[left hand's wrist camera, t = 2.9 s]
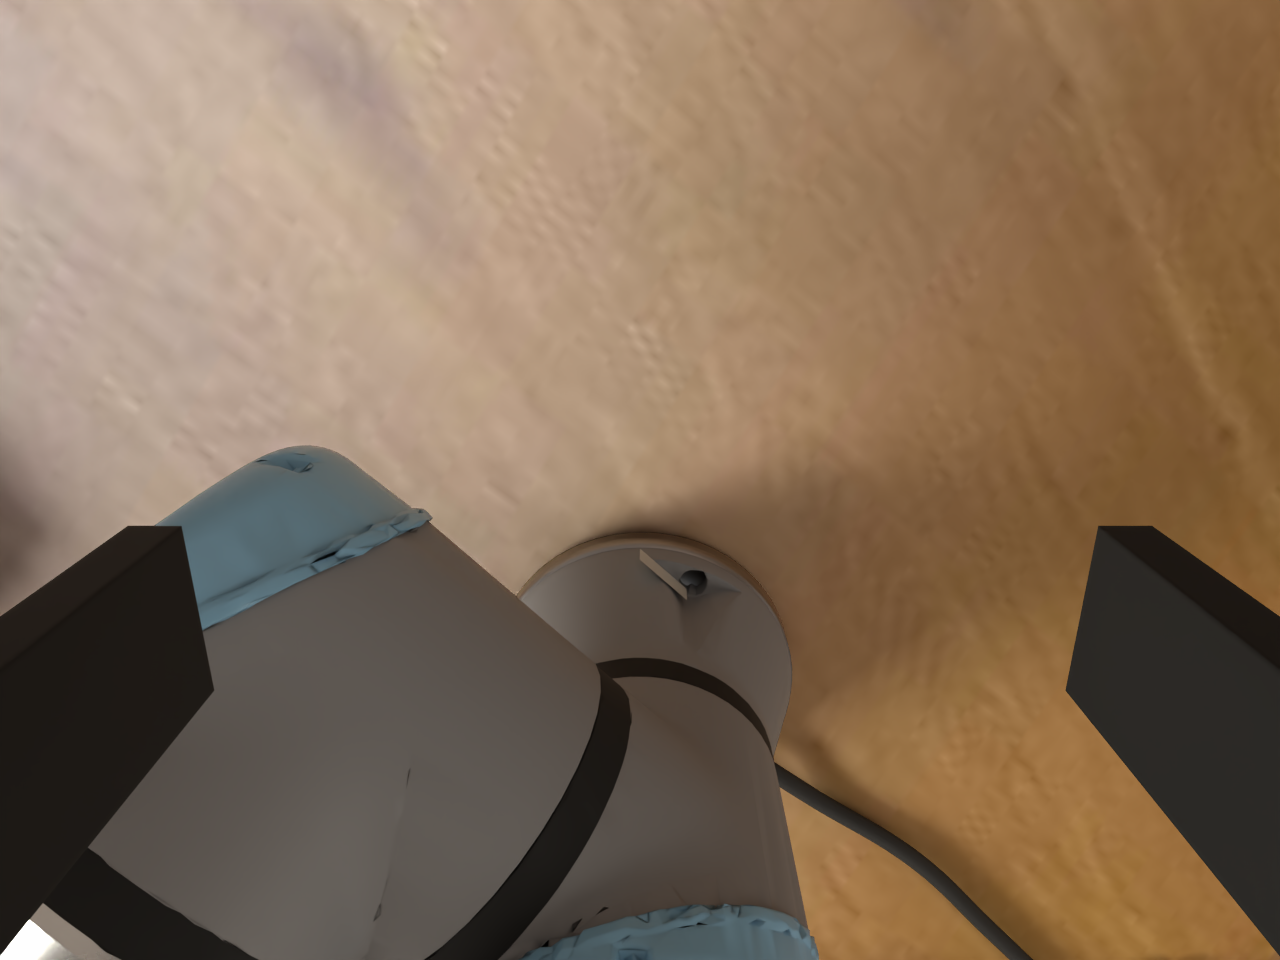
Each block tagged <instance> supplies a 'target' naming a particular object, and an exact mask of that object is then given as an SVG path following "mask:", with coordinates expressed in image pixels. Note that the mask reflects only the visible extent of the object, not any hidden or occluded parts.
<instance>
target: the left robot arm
mask: <svg viewBox="0 0 1280 960" xmlns="http://www.w3.org/2000/svg"><path fill="white" fill-rule="evenodd" d="M431 519H432V517H431V516H430V515H429V513H428V512H427V511H425V510H424V509H415V508H411V507H410V506H409V505H407V504H406V503H405V502H403V501H402V500H401V499H399V498H398V497H397V496H395V495H394V494H393V493H392V492H390V491H389V490H388V489H386V488H385V487H384V486H382V485H381V484H380V483H379V482H377V481H376V480H375V479H373V478H372V477H371V476H369V475H368V474H367V473H366V472H364V471H363V470H362V469H360V468H359V467H358V466H357V465H355V464H354V463H353V462H351V461H350V460H349V459H347V458H346V457H344V456H342V455H341V454H339V453H337V452H334V451H332V450H330V449H326V448H322V447H317V446H294V447H288V448H284V449H280V450H277V451H275V452H272V453H269V454H267V455H265V456H262V457H260V458H258V459H256V460H255V461H253V462H251V463H249V464H247V465H245V466H244V467H242V468H240V469H239V470H237V471H235V472H234V473H232V474H230V475H229V476H227V477H226V478H224V479H222V480H221V481H219V482H218V483H216V484H214V485H213V486H211V487H210V488H208V489H207V490H205V491H204V492H202V493H201V494H199V495H198V496H196V497H195V498H193V499H192V500H190V501H189V502H188V503H186V504H185V505H183V506H182V507H180V508H179V509H178V510H176V511H175V512H173V513H172V514H170V515H169V516H168V517H166V518H165V519H163V520H162V521H160V522H159V523H158V524H156V525H155V526H127V527H126V528H124V529H123V530H122V531H120V532H119V533H117V534H116V535H115V536H113V537H112V538H110V539H109V540H108V541H106V542H105V543H103V544H102V545H101V546H99V547H98V548H96V549H95V550H93V551H92V552H91V553H89V554H88V555H86V556H85V557H84V558H82V559H81V560H79V561H78V562H77V563H75V564H74V565H72V566H71V567H70V568H68V569H67V570H65V571H64V572H62V573H61V574H60V575H58V576H57V577H55V578H54V579H53V580H51V581H50V582H48V583H47V584H46V585H44V586H43V587H41V588H40V589H39V590H37V591H36V592H34V593H33V594H31V595H30V596H29V597H27V598H26V599H24V600H23V601H22V602H20V603H19V604H17V605H16V606H15V607H13V608H12V609H10V610H9V611H8V612H6V613H5V614H3V615H2V616H0V960H819V955H818V951H817V947H816V944H815V941H814V937H813V936H810V930H808V926H807V921H806V916H805V911H804V906H803V901H802V897H801V892H800V887H799V882H798V877H797V872H796V867H795V862H794V857H793V852H792V847H791V842H790V837H789V832H788V827H787V822H786V817H785V813H784V808H783V803H782V798H781V793H780V788H779V787H781V788H782V789H784V790H785V791H787V792H789V793H790V794H792V795H793V796H795V797H797V798H798V799H800V800H801V801H803V802H805V803H806V804H808V805H809V806H811V807H813V808H814V809H816V810H818V811H819V812H821V813H823V814H825V815H826V816H828V817H830V818H831V819H833V820H835V821H837V822H839V823H840V824H842V825H844V826H846V827H847V828H849V829H851V830H853V831H855V832H856V833H858V834H860V835H862V836H863V837H865V838H867V839H869V840H870V841H872V842H874V843H875V844H877V845H879V846H880V847H882V848H884V849H885V850H887V851H888V852H890V853H891V854H893V855H894V856H896V857H897V858H899V859H900V860H902V861H903V862H904V863H906V864H907V865H908V866H910V867H911V868H912V869H914V870H915V871H916V872H917V873H919V874H920V875H921V876H922V877H924V878H925V879H926V880H927V881H928V882H930V883H931V884H932V885H933V886H934V887H935V888H936V889H937V890H938V891H940V892H941V893H942V894H943V895H944V896H945V897H946V898H947V899H948V900H949V901H950V902H951V903H952V904H953V905H954V906H955V907H956V908H957V909H958V910H959V911H960V912H961V913H962V914H963V915H964V916H965V917H966V918H967V919H968V920H969V921H970V922H971V923H972V924H973V925H974V926H975V927H976V928H977V929H978V930H979V931H980V932H981V933H982V934H983V935H984V936H985V937H986V938H987V939H988V940H989V941H990V942H991V943H993V944H994V945H995V946H996V947H997V948H998V949H999V950H1000V951H1001V952H1002V953H1003V954H1004V955H1005V956H1006V957H1007V958H1008V959H1009V960H1033V959H1032V958H1031V957H1030V956H1029V955H1027V954H1026V953H1025V952H1024V951H1023V950H1022V949H1021V948H1020V947H1019V946H1018V945H1017V944H1016V943H1015V942H1014V941H1013V940H1012V939H1011V938H1010V937H1009V936H1008V935H1007V934H1006V933H1004V932H1003V931H1002V930H1001V929H1000V928H999V927H998V926H997V925H996V924H995V923H994V922H993V921H992V920H991V919H990V918H989V917H988V916H987V915H986V914H985V913H984V912H983V911H982V910H981V909H980V908H979V907H978V906H977V905H976V904H975V903H974V902H973V901H972V900H971V899H970V898H969V897H968V896H967V895H966V894H965V893H964V892H963V891H962V890H961V889H960V888H959V887H958V886H957V885H956V884H955V883H954V882H953V881H952V880H951V879H950V878H949V877H948V876H947V875H946V874H945V873H944V872H942V871H941V870H940V869H939V868H938V867H937V866H936V865H934V864H933V863H932V862H931V861H930V860H928V859H927V858H926V857H924V856H923V855H922V854H921V853H919V852H918V851H917V850H915V849H914V848H913V847H911V846H910V845H908V844H907V843H906V842H904V841H903V840H901V839H900V838H898V837H897V836H895V835H893V834H892V833H890V832H889V831H887V830H885V829H884V828H882V827H880V826H879V825H877V824H875V823H874V822H872V821H870V820H868V819H867V818H865V817H863V816H861V815H860V814H858V813H856V812H854V811H853V810H851V809H849V808H847V807H845V806H844V805H842V804H840V803H839V802H837V801H835V800H833V799H832V798H830V797H828V796H827V795H825V794H823V793H822V792H820V791H819V790H817V789H815V788H814V787H812V786H811V785H809V784H807V783H806V782H804V781H803V780H801V779H800V778H798V777H796V776H795V775H793V774H792V773H790V772H789V771H787V770H786V769H784V768H783V767H781V766H779V765H778V764H776V763H775V762H774V759H773V756H774V752H775V749H776V746H777V742H778V739H779V735H780V732H781V728H782V725H783V721H784V718H785V715H786V711H787V707H788V704H789V698H790V693H791V685H792V664H791V656H790V651H789V647H788V643H787V639H786V635H785V632H784V628H783V625H782V622H781V619H780V617H779V614H778V612H777V610H776V608H775V606H774V604H773V602H772V601H771V599H770V597H769V596H768V594H767V593H766V591H765V590H764V589H763V588H762V586H761V585H760V584H759V583H758V581H757V580H756V579H755V578H754V577H753V576H752V575H751V574H750V573H749V572H748V571H746V570H745V569H744V568H743V567H742V566H740V565H739V564H738V563H737V562H735V561H734V560H732V559H731V558H729V557H728V556H726V555H725V554H723V553H721V552H719V551H717V550H715V549H713V548H711V547H709V546H706V545H704V544H702V543H699V542H696V541H693V540H690V539H687V538H683V537H678V536H674V535H668V534H660V533H645V532H638V533H623V534H616V535H610V536H606V537H601V538H597V539H594V540H591V541H588V542H585V543H582V544H580V545H578V546H575V547H573V548H571V549H569V550H567V551H565V552H564V553H562V554H560V555H558V556H557V557H555V558H554V559H552V560H551V561H549V562H548V563H547V564H545V565H544V566H543V567H542V568H541V569H539V570H538V571H537V572H536V573H535V574H534V575H533V576H532V577H531V578H530V579H529V580H528V581H527V582H526V584H525V585H524V586H523V588H522V589H521V590H520V592H519V593H518V594H517V596H515V595H514V594H513V593H511V592H510V591H509V590H508V589H507V588H506V587H504V586H503V585H502V584H501V583H500V582H499V581H497V580H496V579H495V578H494V577H493V576H492V575H490V574H489V573H488V572H487V571H486V570H485V569H483V568H482V567H481V566H480V565H479V564H477V563H476V562H475V561H474V560H473V559H472V558H470V557H469V556H468V555H467V554H466V553H465V552H463V551H462V550H461V549H460V548H459V547H458V546H456V545H455V544H454V543H453V542H452V541H451V540H449V539H448V538H447V537H446V536H445V535H444V534H442V533H441V532H440V531H439V530H438V529H436V528H435V527H434V526H433V525H432V524H431V523H429V522H428V521H430V520H431ZM1066 692H1067V693H1068V694H1069V695H1070V697H1071V698H1072V699H1073V700H1074V701H1075V703H1076V704H1077V705H1078V706H1079V708H1080V709H1081V710H1082V711H1083V713H1084V714H1085V715H1086V716H1087V718H1088V719H1089V720H1090V721H1091V723H1092V724H1093V725H1094V726H1095V728H1096V729H1097V730H1098V731H1099V732H1100V734H1101V735H1102V736H1103V737H1104V739H1105V740H1106V741H1107V742H1108V744H1109V745H1110V746H1111V747H1112V749H1113V750H1114V751H1115V752H1116V754H1117V755H1118V756H1119V757H1120V759H1121V760H1122V761H1123V762H1124V763H1125V765H1126V766H1127V767H1128V768H1129V770H1130V771H1131V772H1132V773H1133V775H1134V776H1135V777H1136V778H1137V780H1138V781H1139V782H1140V783H1141V785H1142V786H1143V787H1144V788H1145V790H1146V791H1147V792H1148V793H1149V794H1150V796H1151V797H1152V798H1153V799H1154V801H1155V802H1156V803H1157V804H1158V806H1159V807H1160V808H1161V809H1162V811H1163V812H1164V813H1165V814H1166V816H1167V817H1168V818H1169V819H1170V821H1171V822H1172V823H1173V824H1174V826H1175V827H1176V828H1177V829H1178V830H1179V832H1180V833H1181V834H1182V835H1183V837H1184V838H1185V839H1186V840H1187V842H1188V843H1189V844H1190V845H1191V847H1192V848H1193V849H1194V850H1195V852H1196V853H1197V854H1198V855H1199V857H1200V858H1201V859H1202V860H1203V861H1204V863H1205V864H1206V865H1207V866H1208V868H1209V869H1210V870H1211V871H1212V873H1213V874H1214V875H1215V876H1216V878H1217V879H1218V880H1219V881H1220V883H1221V884H1222V885H1223V886H1224V888H1225V889H1226V890H1227V891H1228V892H1229V894H1230V895H1231V896H1232V897H1233V899H1234V900H1235V901H1236V902H1237V904H1238V905H1239V906H1240V907H1241V909H1242V910H1243V911H1244V912H1245V914H1246V915H1247V916H1248V917H1249V919H1250V920H1251V921H1252V922H1253V923H1254V925H1255V926H1256V927H1257V928H1258V930H1259V931H1260V932H1261V933H1262V935H1263V936H1264V937H1265V938H1266V940H1267V941H1268V942H1269V943H1270V945H1271V946H1272V947H1273V948H1274V950H1275V951H1276V952H1277V953H1278V954H1279V956H1280V616H1278V615H1277V614H1275V613H1274V612H1272V611H1271V610H1270V609H1268V608H1267V607H1265V606H1264V605H1263V604H1261V603H1260V602H1258V601H1257V600H1256V599H1254V598H1253V597H1251V596H1250V595H1249V594H1247V593H1246V592H1244V591H1243V590H1241V589H1240V588H1239V587H1237V586H1236V585H1234V584H1233V583H1232V582H1230V581H1229V580H1227V579H1226V578H1225V577H1223V576H1222V575H1220V574H1219V573H1218V572H1216V571H1215V570H1213V569H1212V568H1210V567H1209V566H1208V565H1206V564H1205V563H1203V562H1202V561H1201V560H1199V559H1198V558H1196V557H1195V556H1194V555H1192V554H1191V553H1189V552H1188V551H1187V550H1185V549H1184V548H1182V547H1181V546H1179V545H1178V544H1177V543H1175V542H1174V541H1172V540H1171V539H1170V538H1168V537H1167V536H1165V535H1164V534H1163V533H1161V532H1160V531H1158V530H1157V529H1156V528H1154V527H1153V526H1098V531H1097V536H1096V541H1095V546H1094V551H1093V556H1092V561H1091V566H1090V571H1089V576H1088V581H1087V586H1086V591H1085V596H1084V601H1083V606H1082V611H1081V616H1080V621H1079V626H1078V631H1077V636H1076V641H1075V646H1074V651H1073V656H1072V661H1071V666H1070V671H1069V676H1068V681H1067V686H1066Z"/></svg>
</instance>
